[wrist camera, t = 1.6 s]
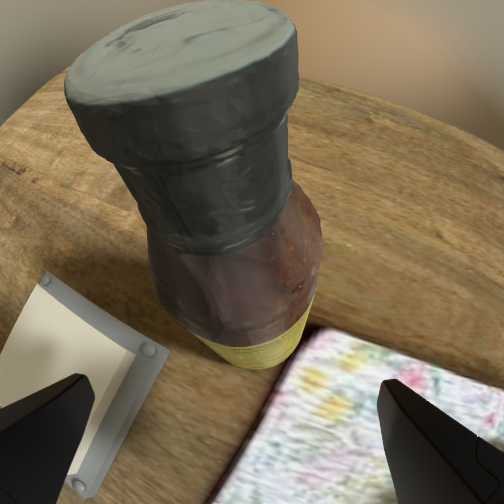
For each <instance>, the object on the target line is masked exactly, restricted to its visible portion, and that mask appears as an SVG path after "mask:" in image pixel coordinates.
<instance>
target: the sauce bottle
mask: <svg viewBox="0 0 504 504" xmlns="http://www.w3.org/2000/svg"><path fill="white" fill-rule="evenodd" d="M298 81H299V75H298V43H297V31H296V28H295V25H294V24H293V23H292V22H291V20H290V19H289V17H288V16H287V15H286V13H285V12H284V11H282V10H280V9H278V8H277V7H274V6H272V5H269V4H265V3H261V2H257V1H242V0H205V1H194V2H190V3H185V4H180V5H176V6H172V7H168V8H165V9H162V10H160V11H157V12H153V13H148V14H146V15H144V16H142V17H139V18H137V19H136V20H134V21H131V22H129V23H127V24H125V25H123V26H121V27H120V28H118V29H116V30H114V31H113V32H111V33H110V34H109V35H108V36H106V37H105V38H103V39H101V40H99V41H98V42H96V43H94V44H93V45H92V46H90V47H89V48H88V49H87V50H86V51H85V52H83V53H82V54H81V55H80V56H79V57H78V58H76V60H75V61H74V62H73V64H72V65H71V67H70V68H69V70H68V72H67V74H66V76H65V80H64V91H65V97H66V101H67V103H68V105H69V107H70V109H71V111H72V113H73V115H74V116H75V119H76V121H77V124H78V126H79V128H80V130H81V132H82V133H83V135H84V137H85V138H86V140H87V142H88V143H89V145H90V146H91V148H92V150H94V151H95V152H96V153H97V154H98V155H99V156H101V157H103V158H105V159H106V160H107V161H109V162H111V163H113V164H114V166H115V168H116V169H117V171H118V172H119V174H120V176H121V177H122V179H123V181H124V182H125V184H126V186H127V187H128V189H129V191H130V192H131V194H132V196H133V197H134V198H135V200H136V201H137V203H138V209H139V211H140V214H141V216H142V218H143V220H144V222H145V224H146V225H147V242H148V258H149V271H150V277H151V281H152V284H153V287H154V289H155V292H156V294H157V296H158V298H159V300H160V301H161V303H162V305H163V306H164V307H165V308H166V310H167V311H168V312H169V314H170V315H171V316H172V317H173V318H174V319H175V320H177V321H178V322H179V323H180V324H181V325H182V326H184V327H185V328H186V329H187V330H188V331H190V332H191V333H192V334H193V335H195V336H196V337H197V338H198V339H200V340H201V341H202V342H204V343H205V344H206V345H207V346H208V347H210V348H211V349H212V350H214V351H215V352H216V353H217V354H219V355H220V356H221V357H222V358H224V359H225V360H226V361H228V362H230V363H231V364H233V365H235V366H238V367H241V368H245V369H265V368H269V367H273V366H275V365H277V364H279V363H280V362H282V361H283V360H285V359H286V358H287V357H288V356H289V355H290V354H291V353H292V352H293V351H294V349H295V348H296V346H297V345H298V343H299V341H300V338H301V335H302V332H303V329H304V326H305V323H306V320H307V317H308V314H309V311H310V307H311V304H312V301H313V298H314V295H315V291H316V287H317V281H318V270H319V266H320V261H321V258H322V247H323V244H322V243H323V241H322V231H321V226H320V218H319V216H318V214H317V212H316V209H315V208H314V207H313V205H312V202H311V200H310V199H309V197H308V196H307V195H306V194H305V193H304V191H303V190H302V188H301V187H300V186H299V185H298V184H297V183H295V182H294V181H293V180H292V170H291V162H290V160H289V159H288V128H287V121H288V115H287V113H288V112H289V110H290V108H291V105H292V103H293V101H294V99H295V98H296V94H297V92H298V90H299V88H298Z"/></svg>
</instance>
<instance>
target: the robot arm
mask: <svg viewBox="0 0 504 504" xmlns="http://www.w3.org/2000/svg"><path fill="white" fill-rule="evenodd" d="M94 401H95V393H94V391H93V388H92V386H91V383H90V381H89V379H88V377H87V376H86V375H85V374H80V373H74V374H72V375H70V376H68V377H66V378H64V379H62V380H60V381H58V382H56V383H54V384H52V385H49V386H47V387H45V388H43V389H41V390H39V391H37V392H35V393H33V394H31V395H29V396H26V397H24V398H22V399H20V400H18V401H16V402H14V403H12V404H9V405H7V406H5V407H3V408H1V409H0V504H56V502H57V500H58V497H59V494H60V492H61V489H62V486H63V484H64V481H65V479H66V476H67V474H68V471H69V469H70V466H71V464H72V462H73V459H74V457H75V454H76V452H77V450H78V447H79V445H80V443H81V440H82V438H83V435H84V432H85V429H86V426H87V423H88V420H89V416H90V413H91V410H92V407H93V404H94ZM377 410H378V416H379V421H380V427H381V433H382V440H383V446H384V451H385V455H386V459H387V462H388V466H389V469H390V473H391V476H392V480H393V484H394V488H395V491H396V495H397V499H398V503H399V504H504V452H502V451H501V450H499V449H497V448H496V447H494V446H493V445H491V444H490V443H488V442H486V441H485V440H484V439H482V438H481V437H479V436H478V437H477V435H476V434H475V433H473V432H472V431H470V430H469V429H467V428H466V427H464V426H463V425H462V424H460V423H459V422H457V421H456V420H454V419H453V418H451V417H450V416H449V415H447V414H446V413H444V412H443V411H441V410H440V409H438V408H437V407H436V406H434V405H433V404H431V403H430V402H429V401H427V400H426V399H424V398H423V397H421V396H420V395H419V394H417V393H416V392H414V391H413V390H411V389H410V388H409V387H407V386H406V385H404V384H403V383H402V382H400V381H399V380H397V379H389V380H384V381H382V383H381V387H380V391H379V395H378V400H377Z"/></svg>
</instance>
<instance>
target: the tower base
mask: <svg viewBox="0 0 504 504" xmlns="http://www.w3.org/2000/svg"><path fill="white" fill-rule="evenodd" d="M170 352H171V351H170V350H168V349H167V348H165V347H163V346H162V345H160V344H158V343H156V342H155V341H153V340H151V339H149V338H148V337H146V336H144V335H143V334H141V333H139V332H138V331H136V330H134V329H133V328H131V327H129V326H128V325H126V324H124V323H123V322H121V321H120V320H118V319H116V318H115V317H113V316H112V315H110V314H109V313H107V312H106V311H104V310H102V309H101V308H99V307H98V306H96V305H95V304H93V303H92V302H90V301H89V300H87V299H86V298H85V297H83V296H82V295H80V294H79V293H77V292H76V291H74V290H73V289H72V288H70V287H69V286H67V285H66V284H65V283H63V282H62V281H61V280H59V279H58V278H56V277H55V276H54V275H52V274H51V273H50V272H48V271H46V273H45V274H43V275H42V277H41V281H40V283H39V285H38V284H37V285H36V287H35V288H34V290H33V292H32V294H31V295H30V297H29V299H28V301H27V302H26V304H25V306H24V308H23V310H22V312H21V314H20V315H19V317H18V319H17V321H16V323H15V325H14V327H13V329H12V331H11V333H10V335H9V337H8V339H7V341H6V343H5V346H4V348H3V350H2V352H1V354H0V409H1V408H3V407H5V406H7V405H9V404H12V403H14V402H16V401H18V400H20V399H22V398H24V397H26V396H29V395H31V394H33V393H35V392H37V391H39V390H41V389H43V388H45V387H47V386H49V385H52V384H54V383H56V382H58V381H60V380H62V379H64V378H66V377H68V376H70V375H72V374H74V373H80V374H85V375H86V376H87V377H88V379H89V381H90V383H91V386H92V388H93V391H94V393H95V401H94V404H93V407H92V410H91V413H90V416H89V420H88V423H87V426H86V429H85V432H84V435H83V438H82V440H81V443H80V445H79V447H78V450H77V452H76V454H75V457H74V459H73V462H72V464H71V466H70V469H69V471H68V474H67V476H66V479H65V482H66V483H67V484H68V485H69V486H70V487H72V488H73V489H74V490H75V491H76V492H77V493H79V494H80V495H81V496H82V497H83V498H85V499H87V498H91V497H94V496H96V494H97V492H98V490H99V488H100V486H101V484H102V482H103V480H104V478H105V476H106V474H107V472H108V470H109V468H110V466H111V464H112V462H113V460H114V458H115V456H116V454H117V452H118V450H119V448H120V447H121V445H122V443H123V441H124V439H125V437H126V435H127V433H128V431H129V429H130V427H131V425H132V423H133V421H134V419H135V418H136V416H137V414H138V412H139V410H140V408H141V406H142V404H143V402H144V400H145V398H146V397H147V395H148V393H149V391H150V389H151V387H152V385H153V383H154V382H155V380H156V378H157V376H158V374H159V372H160V370H161V368H162V367H163V365H164V363H165V361H166V359H167V357H168V355H169V354H170Z"/></svg>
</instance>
